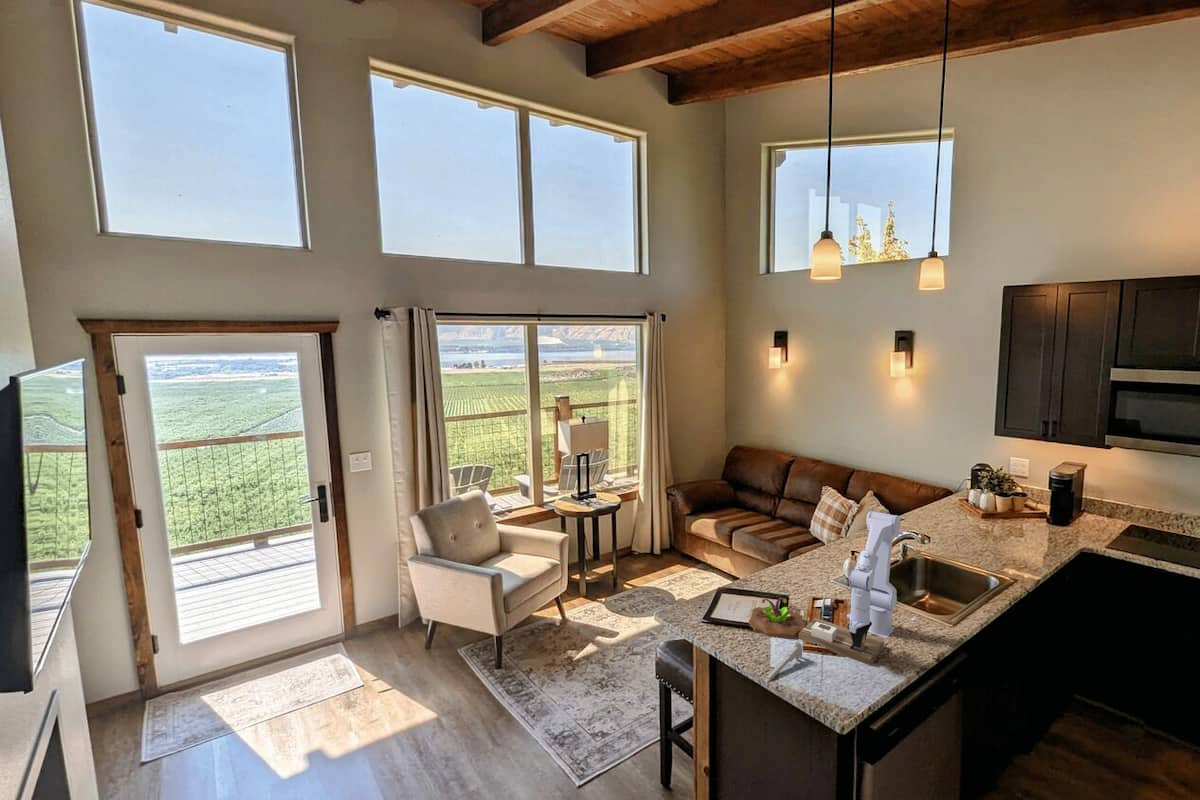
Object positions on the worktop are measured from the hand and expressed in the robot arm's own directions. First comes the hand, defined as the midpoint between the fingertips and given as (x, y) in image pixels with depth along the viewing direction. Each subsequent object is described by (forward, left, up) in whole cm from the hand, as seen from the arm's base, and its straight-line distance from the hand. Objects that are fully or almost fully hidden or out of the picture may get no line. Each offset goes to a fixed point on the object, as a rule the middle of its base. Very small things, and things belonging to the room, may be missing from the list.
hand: (859, 644), depth 189 cm
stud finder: (0, -12, -1) cm, 12 cm away
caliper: (+25, -15, -5) cm, 30 cm away
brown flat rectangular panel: (-3, -7, -4) cm, 9 cm away
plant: (-1, -29, -4) cm, 29 cm away
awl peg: (0, 0, -2) cm, 2 cm away
